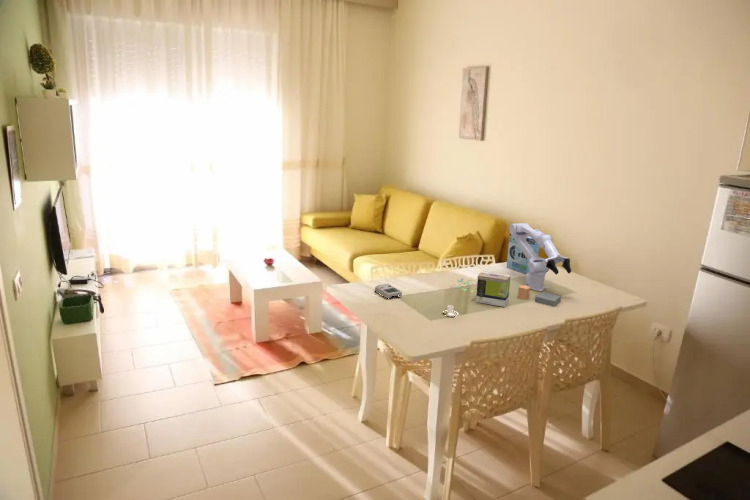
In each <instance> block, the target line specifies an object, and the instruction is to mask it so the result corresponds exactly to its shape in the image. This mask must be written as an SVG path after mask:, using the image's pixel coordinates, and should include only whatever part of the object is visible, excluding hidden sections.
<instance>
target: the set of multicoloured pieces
mask: <svg viewBox="0 0 750 500" xmlns="http://www.w3.org/2000/svg"><path fill="white" fill-rule="evenodd" d="M457 281H458V283H459V282H462V281H463V278H460V279H457ZM471 282H472V280H471V279H468V280H467V281H463V284H465V285H468V286H467V287H466V288H463V287H462V285H461V284H459V286H456V285H455V284H456V283H454V284H453V285H454V286H456V287H455V288H456V289H461V290H462V291H464V292H466V291H467V292H468V291H469V290H470V289H469V288H470V285H469V284H470V283H471ZM477 282H478V280H477V281H475V283H472V284H471V286H475V284H477ZM453 285H450V286H451V288H454V286H453ZM475 290H477V287H476V288H475V289H473V290H471V291H470V293H474V291H475Z"/></svg>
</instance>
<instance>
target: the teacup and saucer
mask: <svg viewBox="0 0 750 500" xmlns="http://www.w3.org/2000/svg"><path fill="white" fill-rule="evenodd" d="M446 309H447V310H443V311H442V312H444V311H447V314H446V315H447V316H446V315H444V316H445V317H451V318H453V317H454V316H455V315H456V313H457V315H458V316H459V312H458V311H455V310H454V309H455V308H454V305H452V304H451V305H449V304H448V305H447V306H446ZM453 311H454V312H453ZM455 312H456V313H455ZM457 315H456V316H455V317H458V316H457Z"/></svg>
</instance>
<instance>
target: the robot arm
mask: <svg viewBox="0 0 750 500" xmlns="http://www.w3.org/2000/svg"><path fill="white" fill-rule="evenodd" d="M510 234H511V235H512V237H513V238H514V239H515V241H516V243H517V245H518V246H519V248H520V249H521V250H522V252H523V253H524V255H525V256H526V257H527V259H528V260H529V262H528V267H529V270H530V271H529V272H528V273H527V274H526V277H525V284H524V286H528V287H530V290H533V291H537V292H542V291H544V290H545V289H546V288H547V287H546V286H545V277H546V274H548V272H550V271H551V272H553V273H554V274H555V275H558V274H559V269H558V267H557V265H556V264H559V263H562V264H561V267H563V269H565V271H566V272H567V274H571V272H572V268H571V262H570V261H571V259H570V258H569V256H568V257H567V256H562V255H561V254H560V253H559V251H558V250H557V248H556V246H555V244H554V243H553V242H554V241H553V236H552V235H551V234H546V233H544V232H542V231H540V229H539V228H537V229H534V228H532V227H531V226H530V224H529V223H527V222H524V223H511V224H510V225H509V235H510ZM528 236H531V238H532V239H533V240H535V241H537V243H538V245H539V247H540V249H543V251H544V252H545V254H546V256H547V258H542V257H540V256H539V255H538V256H537V254H536V253H535V252H534V250H533V249H532V248H531V246H530V245H529V244H528V242H527V241H526V239H527V238H528ZM549 270H550V271H549Z"/></svg>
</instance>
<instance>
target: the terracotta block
mask: <svg viewBox="0 0 750 500" xmlns="http://www.w3.org/2000/svg"><path fill="white" fill-rule="evenodd" d="M530 292H531V289H530V287H528V286H525V284H522V285H520V286H518V292H517V298H518V299H521V300H525V301H526V300H528V299H529V298H530V295H531V293H530Z"/></svg>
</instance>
